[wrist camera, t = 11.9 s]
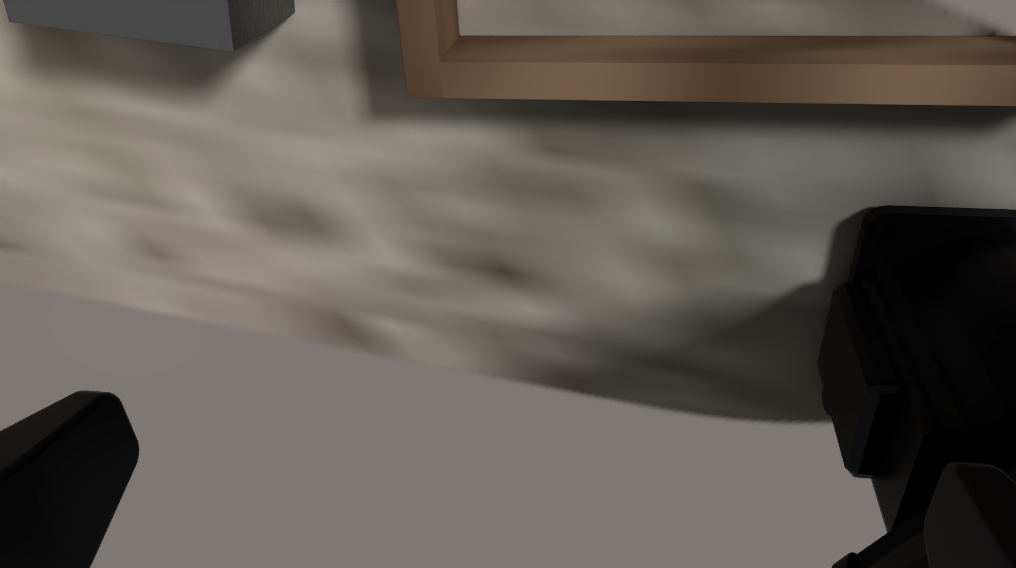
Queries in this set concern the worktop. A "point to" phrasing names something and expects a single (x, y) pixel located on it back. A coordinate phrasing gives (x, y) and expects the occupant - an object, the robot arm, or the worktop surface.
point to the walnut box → (701, 66)
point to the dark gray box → (159, 19)
